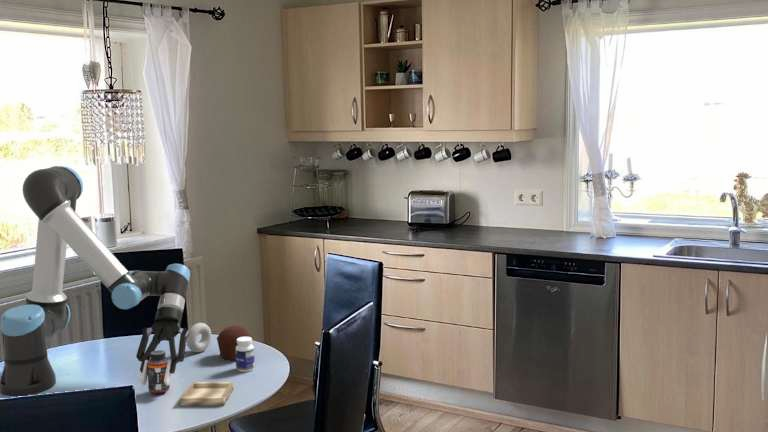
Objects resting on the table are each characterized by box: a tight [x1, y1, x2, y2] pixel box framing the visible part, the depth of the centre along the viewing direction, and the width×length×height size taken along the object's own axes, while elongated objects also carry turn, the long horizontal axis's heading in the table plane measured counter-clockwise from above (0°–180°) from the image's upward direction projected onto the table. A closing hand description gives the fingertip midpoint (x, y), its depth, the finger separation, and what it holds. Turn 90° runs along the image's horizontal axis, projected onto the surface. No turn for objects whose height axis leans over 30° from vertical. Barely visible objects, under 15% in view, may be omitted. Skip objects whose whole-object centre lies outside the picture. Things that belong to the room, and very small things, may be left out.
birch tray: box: [179, 381, 234, 407], centre depth 214 cm, size 12×12×2 cm
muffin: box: [216, 325, 252, 362], centre depth 248 cm, size 12×11×10 cm
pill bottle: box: [235, 336, 256, 373], centre depth 236 cm, size 6×6×10 cm
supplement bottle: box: [147, 349, 171, 394], centre depth 217 cm, size 6×6×11 cm
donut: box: [186, 322, 212, 354], centre depth 253 cm, size 10×4×10 cm, turn 146°
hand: (154, 383), depth 214 cm, fingers closed on supplement bottle, 6 cm apart
